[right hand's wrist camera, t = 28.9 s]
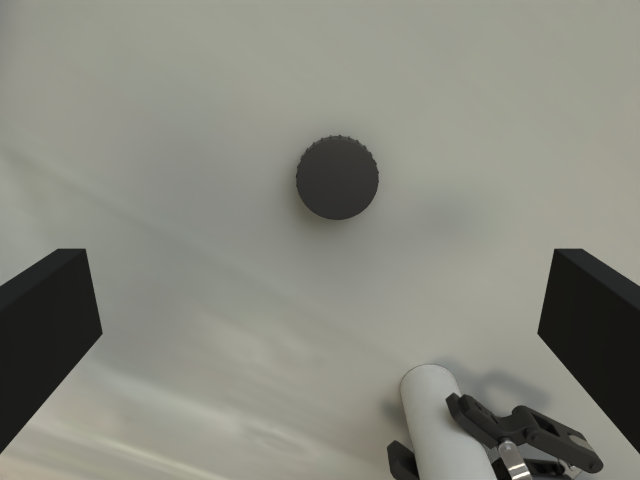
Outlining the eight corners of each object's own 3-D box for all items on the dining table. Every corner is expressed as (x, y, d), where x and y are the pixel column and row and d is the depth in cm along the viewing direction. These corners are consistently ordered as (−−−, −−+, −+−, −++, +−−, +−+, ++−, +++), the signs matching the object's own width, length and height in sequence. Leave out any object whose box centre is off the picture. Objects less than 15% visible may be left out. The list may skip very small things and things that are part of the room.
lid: (377, 211, 31) (379, 218, 30) (300, 215, 32) (298, 222, 30) (376, 132, 29) (379, 135, 28) (294, 137, 30) (292, 140, 28)
